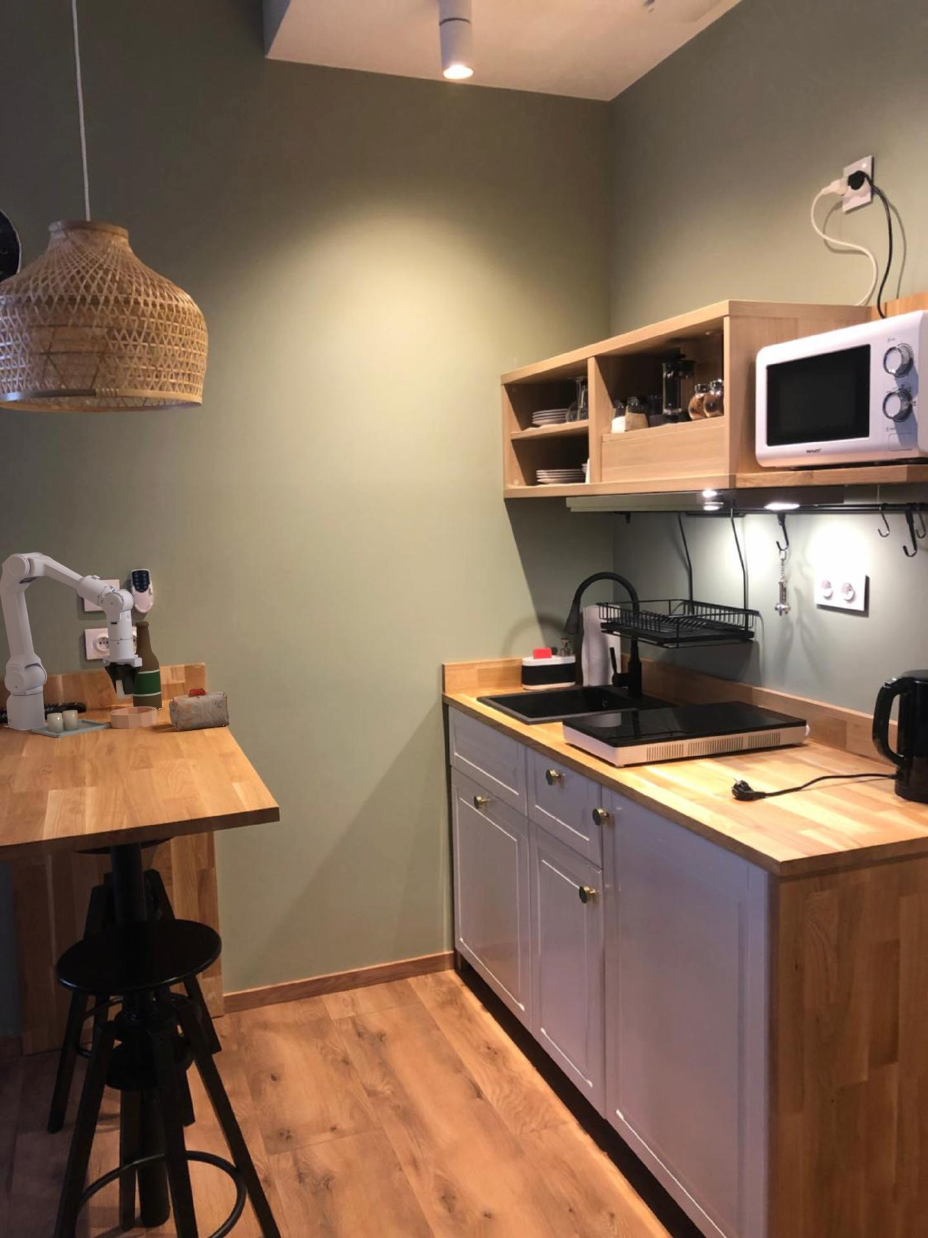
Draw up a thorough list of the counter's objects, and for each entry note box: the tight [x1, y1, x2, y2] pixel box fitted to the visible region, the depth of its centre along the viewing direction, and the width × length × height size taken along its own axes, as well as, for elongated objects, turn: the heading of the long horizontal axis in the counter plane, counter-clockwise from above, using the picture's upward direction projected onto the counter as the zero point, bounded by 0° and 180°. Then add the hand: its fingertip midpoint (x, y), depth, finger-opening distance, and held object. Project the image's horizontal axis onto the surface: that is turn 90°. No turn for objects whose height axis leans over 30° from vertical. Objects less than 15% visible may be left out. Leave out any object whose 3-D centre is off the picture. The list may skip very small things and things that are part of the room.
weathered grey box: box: [168, 686, 230, 732], centre depth 254 cm, size 14×8×10 cm, turn 113°
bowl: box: [109, 706, 158, 730], centre depth 259 cm, size 11×11×4 cm
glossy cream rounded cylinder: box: [62, 709, 79, 731], centre depth 255 cm, size 3×3×4 cm
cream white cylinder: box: [116, 680, 133, 700], centre depth 257 cm, size 3×3×4 cm
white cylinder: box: [46, 712, 63, 734], centre depth 252 cm, size 3×3×4 cm
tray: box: [30, 718, 112, 739], centre depth 255 cm, size 13×14×1 cm
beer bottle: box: [131, 620, 163, 711], centre depth 279 cm, size 8×8×24 cm
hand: (124, 693), depth 257 cm, fingers closed on cream white cylinder, 3 cm apart
